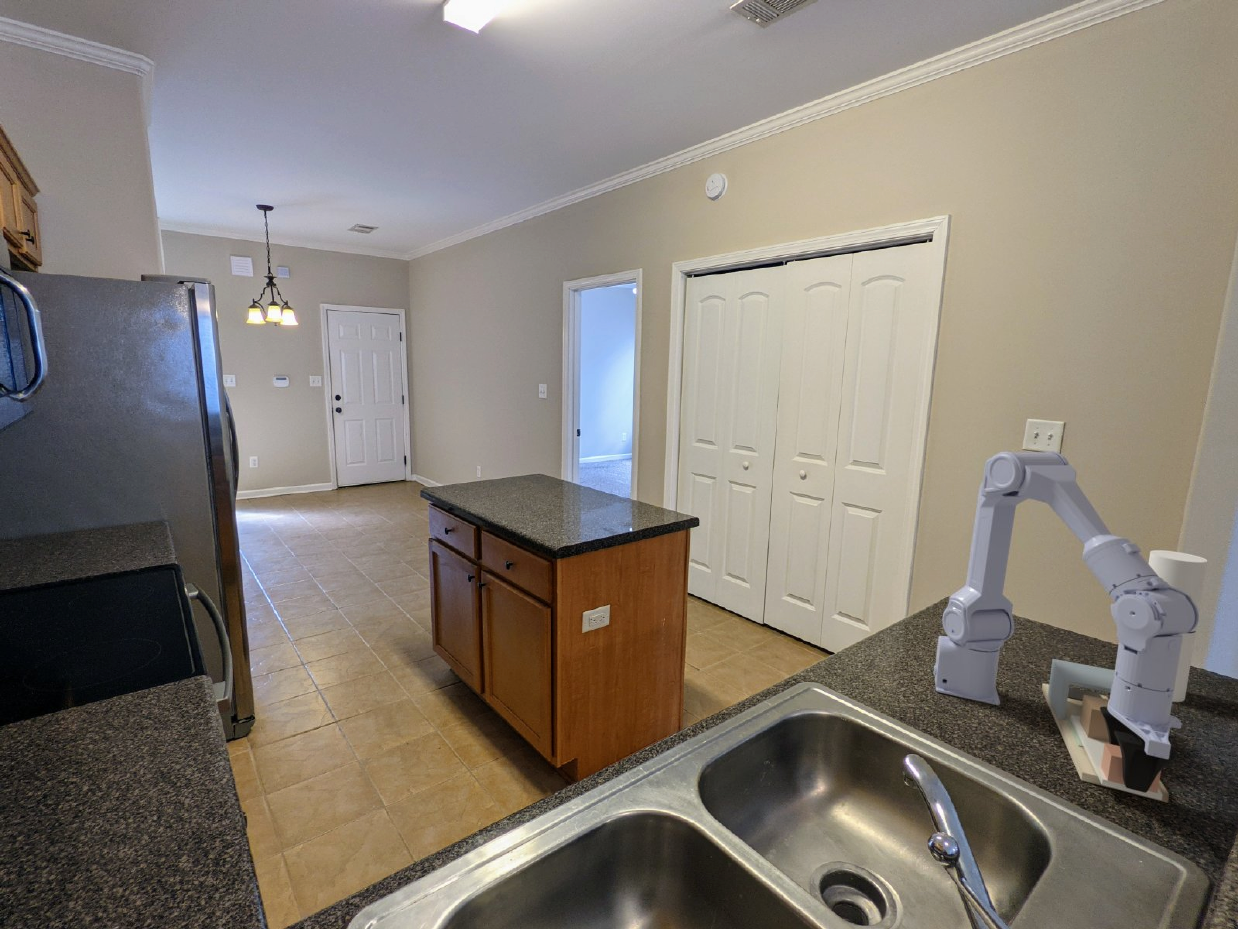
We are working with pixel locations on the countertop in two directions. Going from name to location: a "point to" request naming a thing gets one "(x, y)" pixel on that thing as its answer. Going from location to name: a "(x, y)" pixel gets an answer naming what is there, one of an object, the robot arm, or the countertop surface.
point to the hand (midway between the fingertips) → (1128, 777)
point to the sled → (1104, 747)
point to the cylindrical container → (1190, 579)
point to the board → (1073, 740)
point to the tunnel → (1075, 682)
